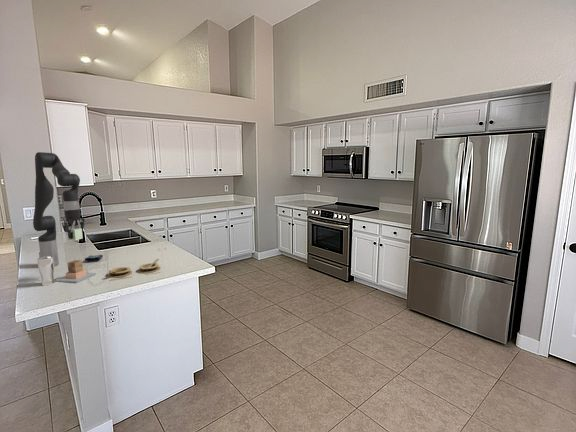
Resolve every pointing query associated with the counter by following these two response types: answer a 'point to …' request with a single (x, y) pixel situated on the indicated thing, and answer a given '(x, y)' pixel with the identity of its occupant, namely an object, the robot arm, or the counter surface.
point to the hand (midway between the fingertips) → (75, 237)
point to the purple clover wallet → (93, 258)
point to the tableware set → (126, 271)
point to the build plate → (75, 277)
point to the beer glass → (46, 270)
